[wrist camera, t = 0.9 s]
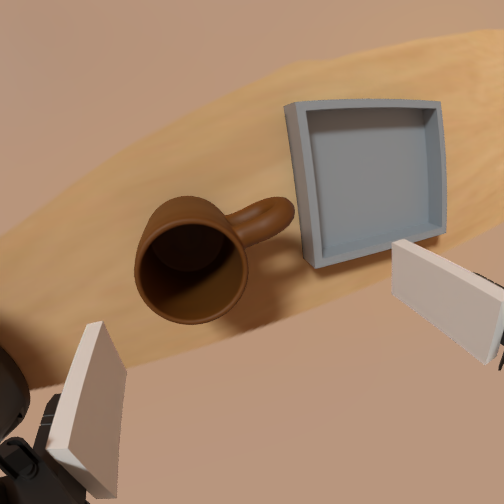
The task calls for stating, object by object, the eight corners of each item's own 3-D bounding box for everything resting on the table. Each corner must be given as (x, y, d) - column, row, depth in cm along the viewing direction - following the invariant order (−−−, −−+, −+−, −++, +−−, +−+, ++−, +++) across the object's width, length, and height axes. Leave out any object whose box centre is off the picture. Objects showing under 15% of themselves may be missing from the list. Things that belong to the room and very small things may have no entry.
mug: (246, 153, 27) (278, 156, 19) (283, 225, 30) (326, 258, 22) (129, 222, 27) (108, 257, 18) (174, 289, 30) (175, 345, 21)
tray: (303, 258, 32) (315, 268, 29) (283, 106, 27) (295, 102, 24) (429, 226, 34) (446, 232, 32) (422, 102, 29) (440, 101, 26)
